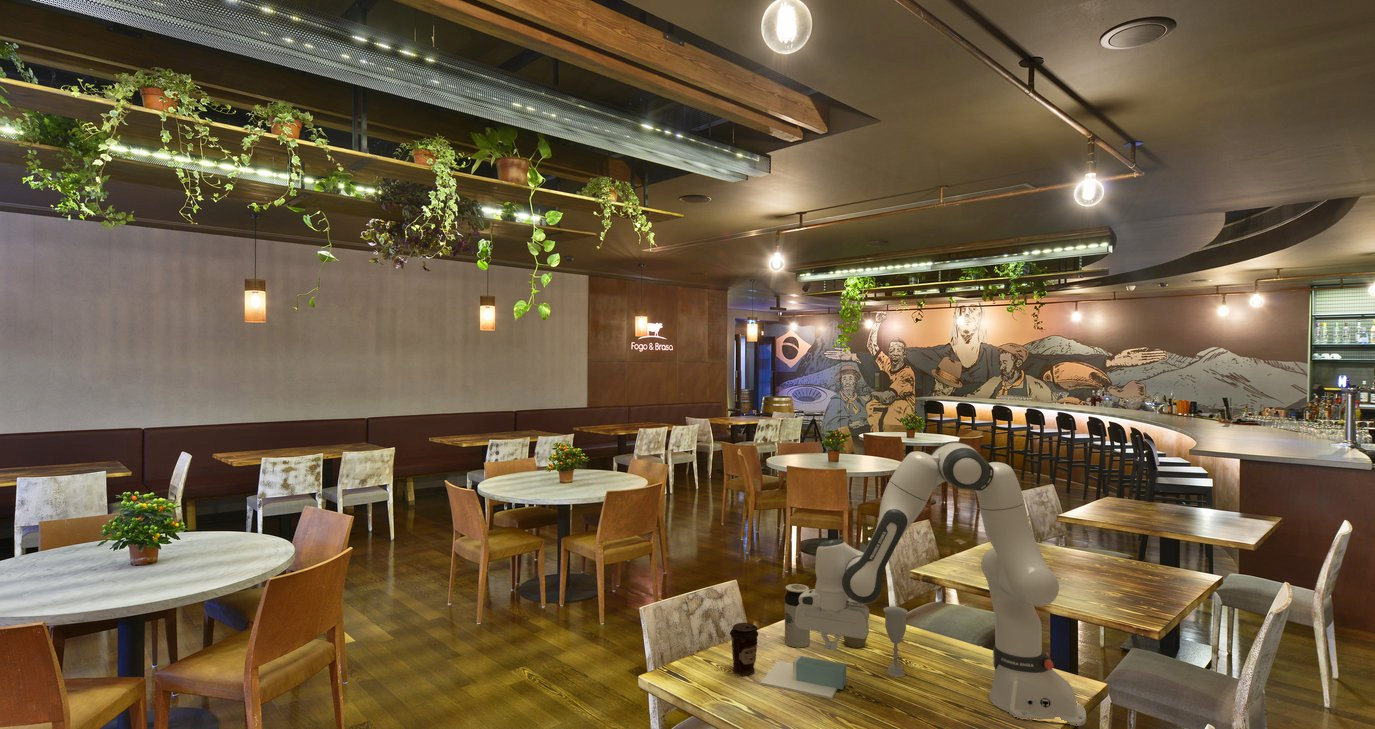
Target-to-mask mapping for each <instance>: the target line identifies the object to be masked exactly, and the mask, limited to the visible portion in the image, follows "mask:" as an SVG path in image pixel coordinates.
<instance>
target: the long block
mask: <svg viewBox="0 0 1375 729" xmlns="http://www.w3.org/2000/svg"><path fill="white" fill-rule="evenodd" d="M792 664H793V680H796V681H802V682H807V683H812V684H817V685H822V686H827V687H832V688H837V690H843V689H844V688H845V686H846V684H847V663H842V662H835V661H831V660H825V659H819V658H814V657H810V656H809V657H808V656H803V655H797V656H796V657H795V658H794V660H793V661H792Z"/></svg>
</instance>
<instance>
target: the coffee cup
mask: <svg viewBox="0 0 1375 729" xmlns="http://www.w3.org/2000/svg"><path fill="white" fill-rule="evenodd" d="M758 629H759V628H758V627H757V625H756V624H752V623H751V622H750V623H749V622H738V623H736V624H734V625H733V626H732V628H731V629H730V632H729V635H730V640H731V649H732V651H731V652H732V653H731V654H732V661H733V662H732V663H733V668H732V670H733V672H734V674H736V675H738V676H750V675H752V674H754V673H755V670H756V669H755V663H756V660H757V650H758V637H759V632H758Z"/></svg>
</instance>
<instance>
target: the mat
mask: <svg viewBox="0 0 1375 729" xmlns="http://www.w3.org/2000/svg"><path fill="white" fill-rule="evenodd" d="M760 685H761V686H765V687H771V688H776V689H780V690H784V691H785V690H786V691H790V692H795V693H800V694H805V695H809V696H813V697H819V698H824V699H828V700H833V698H834V696H835V695H836V693H837V691H838V689H837V688H832V687H827V686H822V685H817V684H812V683H807V682H802V681H796V680H793V662H786V661H782V660H778V661H777V662H776V663H775V664H774V666H772V668H770V670H769V671H768V672H767V674H766V675H765V676H764V678H763V679H762V680H761V681H760Z"/></svg>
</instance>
